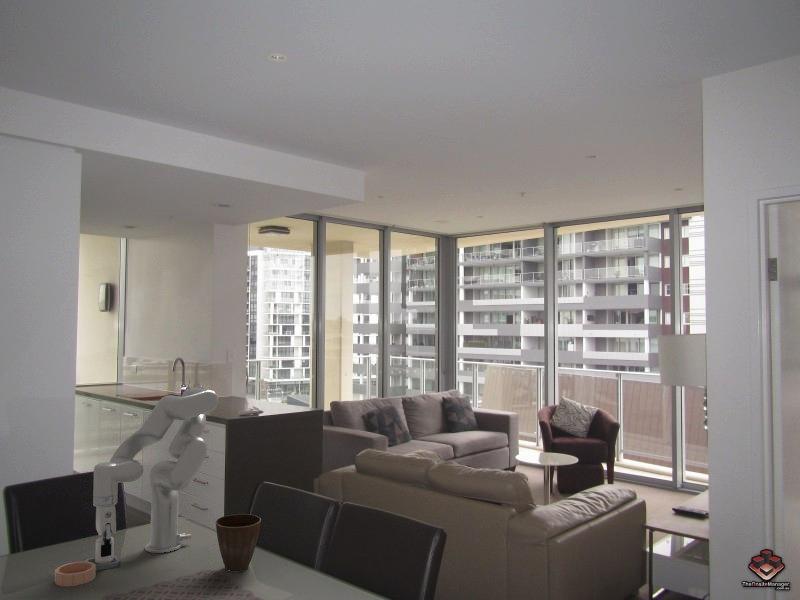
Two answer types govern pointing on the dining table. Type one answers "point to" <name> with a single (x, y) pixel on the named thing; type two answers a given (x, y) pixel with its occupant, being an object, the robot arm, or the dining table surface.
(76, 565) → the bowl
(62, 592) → the dining table surface
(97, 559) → the eye dropper bottle
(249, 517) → the plant pot
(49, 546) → the dining table surface
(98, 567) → the open rectangular frame
